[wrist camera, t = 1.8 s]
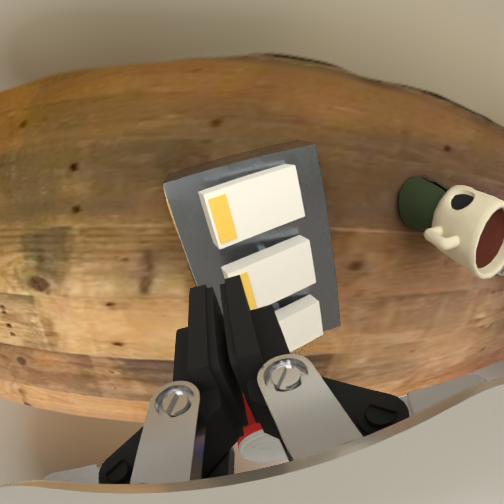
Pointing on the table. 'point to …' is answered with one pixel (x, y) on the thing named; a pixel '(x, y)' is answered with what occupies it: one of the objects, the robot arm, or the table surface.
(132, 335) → the table surface
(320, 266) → the console
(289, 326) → the rocker
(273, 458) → the canned food
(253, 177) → the rocker
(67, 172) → the table surface
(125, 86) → the table surface
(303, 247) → the rocker
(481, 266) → the character mug
